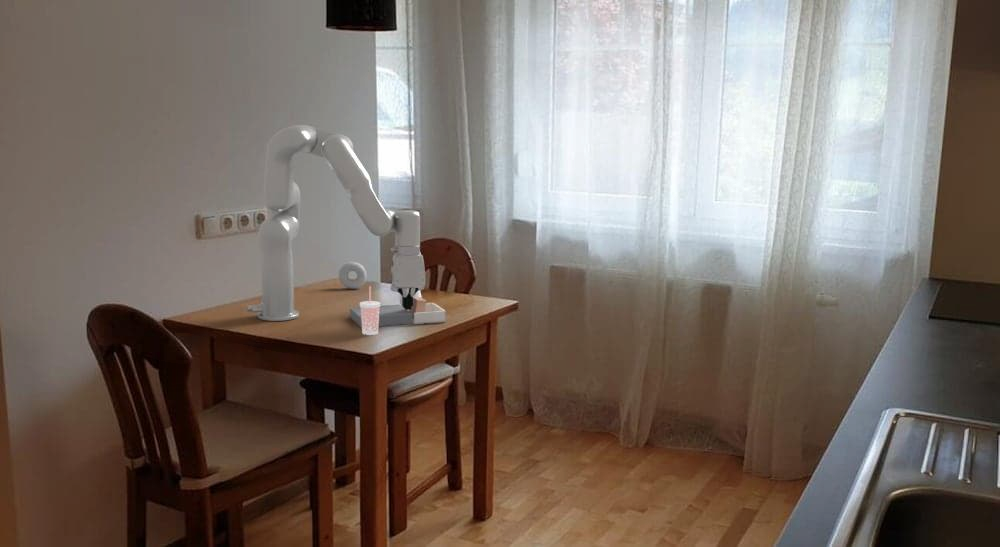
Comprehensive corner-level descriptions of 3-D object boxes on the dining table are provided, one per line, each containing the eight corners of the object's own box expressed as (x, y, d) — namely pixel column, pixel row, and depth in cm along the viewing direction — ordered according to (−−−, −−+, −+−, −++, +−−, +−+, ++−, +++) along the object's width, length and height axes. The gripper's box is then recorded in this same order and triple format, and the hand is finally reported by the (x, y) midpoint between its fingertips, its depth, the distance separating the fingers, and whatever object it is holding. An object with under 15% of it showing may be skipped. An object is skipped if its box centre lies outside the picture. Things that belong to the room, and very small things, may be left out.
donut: (338, 289, 321) (338, 262, 319) (339, 287, 324) (338, 260, 322) (366, 290, 322) (366, 262, 320) (367, 288, 325) (366, 261, 323)
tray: (414, 324, 273) (414, 313, 272) (402, 315, 284) (403, 304, 284) (445, 322, 277) (446, 311, 276) (433, 313, 288) (433, 302, 287)
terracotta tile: (417, 300, 276) (426, 300, 277) (411, 296, 281) (420, 296, 282) (414, 319, 277) (423, 319, 278) (408, 314, 282) (417, 315, 283)
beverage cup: (373, 336, 258) (373, 289, 255) (355, 334, 260) (355, 287, 258) (384, 331, 264) (384, 285, 261) (366, 329, 266) (366, 283, 263)
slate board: (360, 327, 268) (360, 317, 267) (350, 317, 281) (349, 307, 280) (412, 323, 274) (412, 314, 273) (399, 313, 287) (399, 304, 286)
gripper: (387, 253, 268) (387, 313, 272) (434, 251, 274) (434, 309, 277) (380, 249, 275) (380, 307, 278) (427, 247, 281) (426, 304, 284)
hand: (407, 308), depth 278 cm, fingers closed
